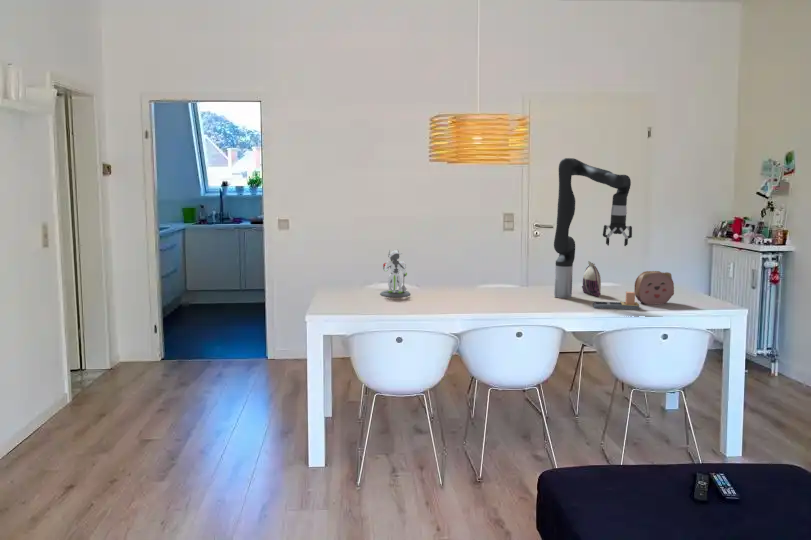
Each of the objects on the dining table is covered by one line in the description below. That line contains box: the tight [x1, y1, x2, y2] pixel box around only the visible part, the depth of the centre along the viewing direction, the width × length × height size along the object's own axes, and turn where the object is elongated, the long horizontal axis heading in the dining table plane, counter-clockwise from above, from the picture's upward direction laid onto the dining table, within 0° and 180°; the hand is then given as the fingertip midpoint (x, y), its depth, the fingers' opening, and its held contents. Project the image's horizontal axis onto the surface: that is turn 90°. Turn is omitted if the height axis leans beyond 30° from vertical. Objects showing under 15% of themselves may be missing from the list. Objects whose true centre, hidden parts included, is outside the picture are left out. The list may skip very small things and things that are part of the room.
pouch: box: [581, 260, 602, 298], centre depth 407 cm, size 25×8×19 cm, turn 15°
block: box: [624, 291, 636, 305], centre depth 370 cm, size 4×4×8 cm
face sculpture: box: [634, 270, 675, 305], centre depth 383 cm, size 20×7×17 cm, turn 101°
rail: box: [592, 300, 640, 310], centre depth 371 cm, size 22×8×2 cm, turn 81°
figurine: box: [379, 249, 411, 298], centre depth 404 cm, size 17×17×25 cm
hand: (616, 245), depth 374 cm, fingers open, 8 cm apart
